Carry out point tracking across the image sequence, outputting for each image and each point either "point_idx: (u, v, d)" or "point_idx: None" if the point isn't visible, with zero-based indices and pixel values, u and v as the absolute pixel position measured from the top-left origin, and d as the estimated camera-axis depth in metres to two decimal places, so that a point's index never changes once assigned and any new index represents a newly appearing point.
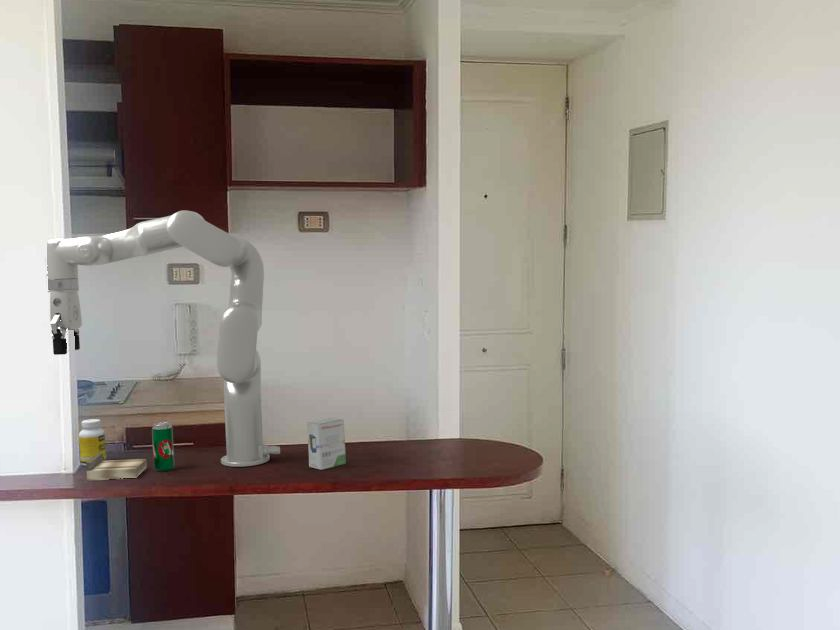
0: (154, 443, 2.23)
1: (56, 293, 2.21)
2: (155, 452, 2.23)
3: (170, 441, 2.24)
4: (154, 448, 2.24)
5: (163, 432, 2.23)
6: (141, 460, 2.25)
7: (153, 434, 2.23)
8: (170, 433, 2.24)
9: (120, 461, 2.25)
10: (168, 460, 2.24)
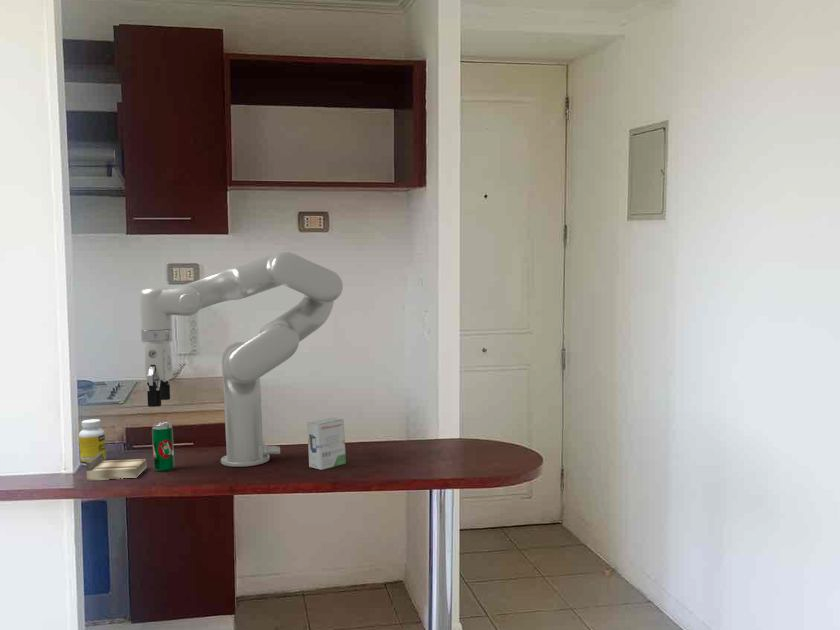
0: (154, 443, 2.23)
1: (151, 344, 2.19)
2: (155, 452, 2.23)
3: (170, 441, 2.24)
4: (154, 448, 2.23)
5: (163, 432, 2.23)
6: (141, 460, 2.25)
7: (153, 434, 2.23)
8: (170, 433, 2.24)
9: (120, 461, 2.25)
10: (168, 460, 2.24)
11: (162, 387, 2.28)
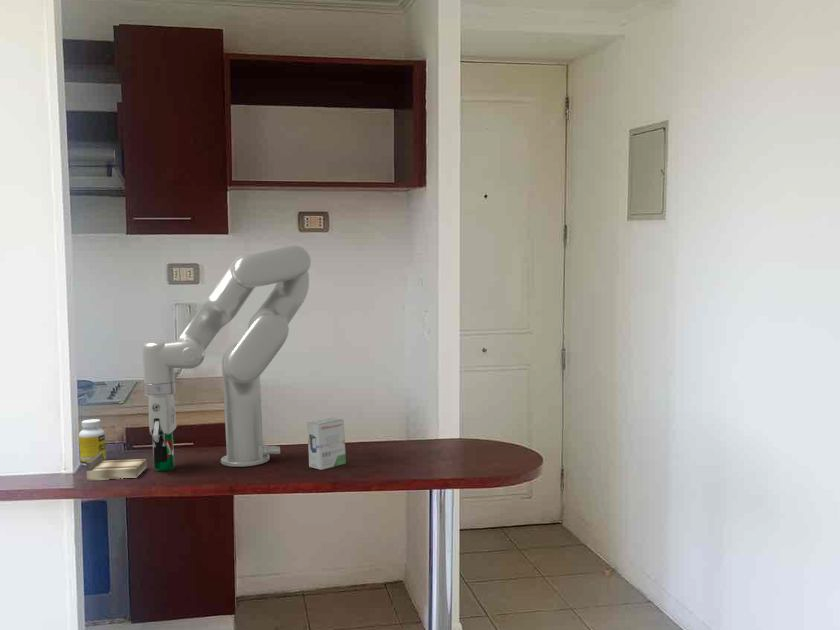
0: None
1: (155, 398, 2.20)
2: None
3: (170, 441, 2.24)
4: None
5: None
6: (141, 460, 2.25)
7: None
8: (170, 433, 2.24)
9: (120, 461, 2.25)
10: (168, 460, 2.24)
11: None
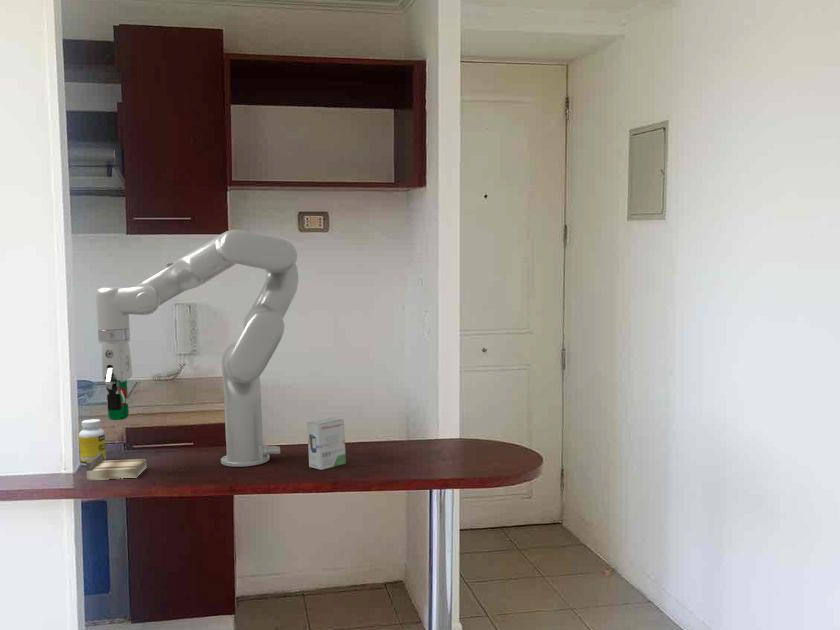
0: None
1: (108, 344, 2.15)
2: None
3: (124, 389, 2.20)
4: None
5: (116, 379, 2.18)
6: (141, 460, 2.25)
7: None
8: (124, 381, 2.19)
9: (120, 461, 2.25)
10: (122, 409, 2.19)
11: None
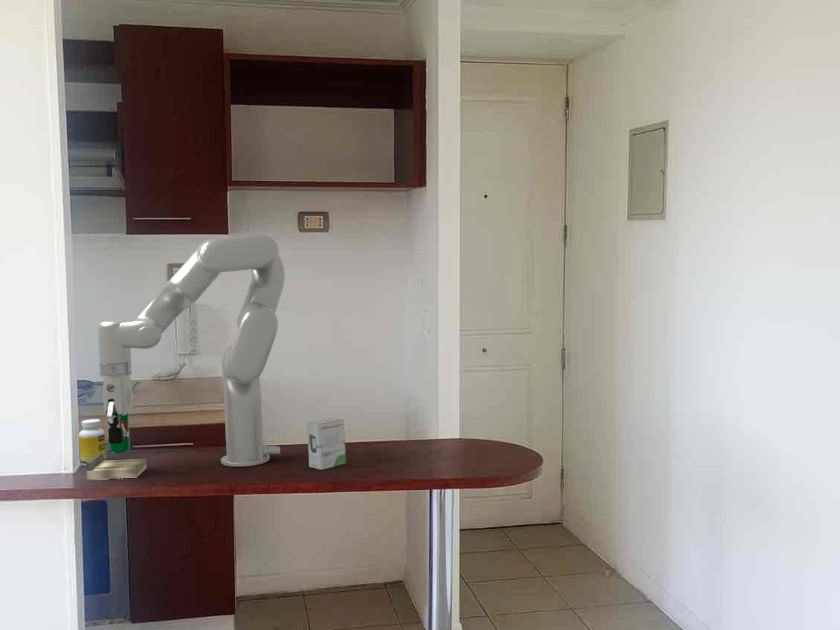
0: None
1: (110, 378, 2.16)
2: None
3: (125, 422, 2.20)
4: None
5: None
6: (141, 460, 2.25)
7: None
8: None
9: (120, 461, 2.25)
10: (123, 442, 2.20)
11: None
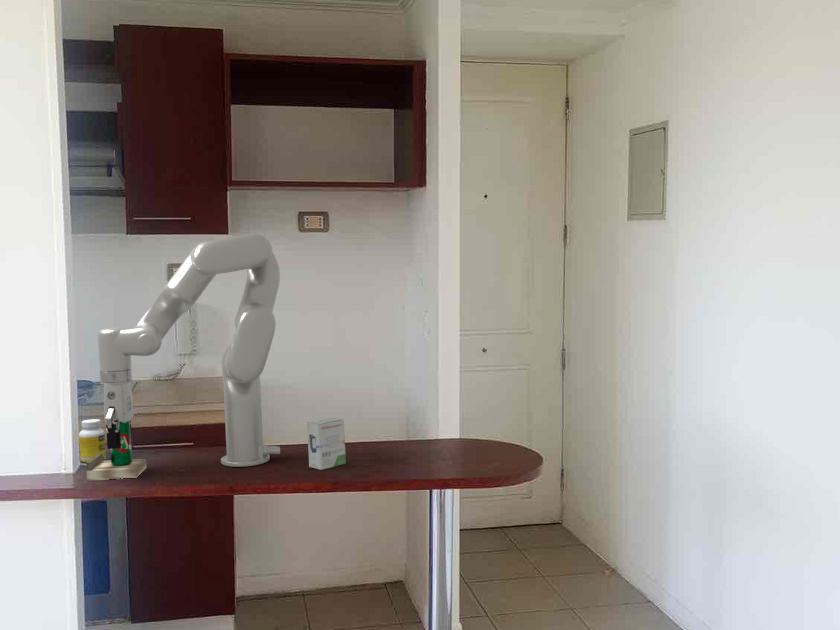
0: None
1: (110, 386, 2.16)
2: None
3: (127, 435, 2.21)
4: None
5: (119, 426, 2.19)
6: (141, 460, 2.25)
7: None
8: (127, 427, 2.20)
9: None
10: (125, 455, 2.20)
11: None
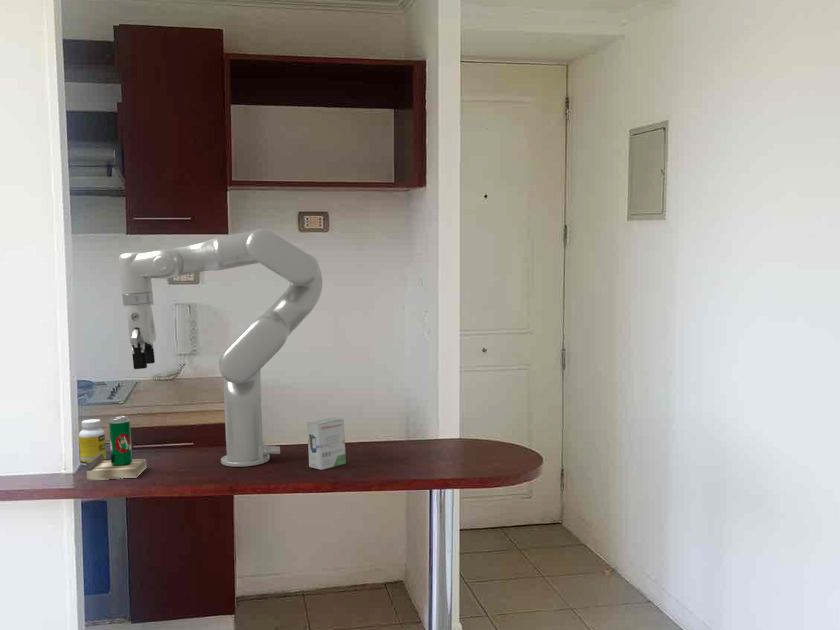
0: (111, 437, 2.20)
1: (134, 308, 2.21)
2: (112, 446, 2.19)
3: (128, 435, 2.20)
4: (110, 442, 2.20)
5: (120, 426, 2.19)
6: (141, 460, 2.25)
7: (110, 428, 2.20)
8: (127, 427, 2.20)
9: None
10: (125, 455, 2.20)
11: (146, 351, 2.31)
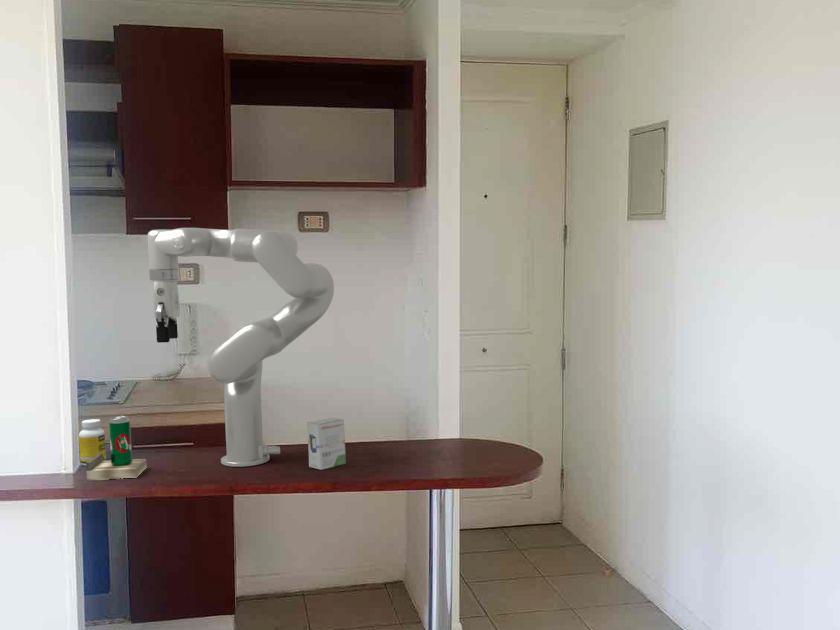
0: (111, 437, 2.20)
1: (159, 283, 2.29)
2: (112, 446, 2.19)
3: (128, 435, 2.21)
4: (110, 442, 2.20)
5: (120, 426, 2.19)
6: (141, 460, 2.25)
7: (110, 428, 2.20)
8: (127, 427, 2.20)
9: None
10: (125, 455, 2.20)
11: (170, 326, 2.38)
